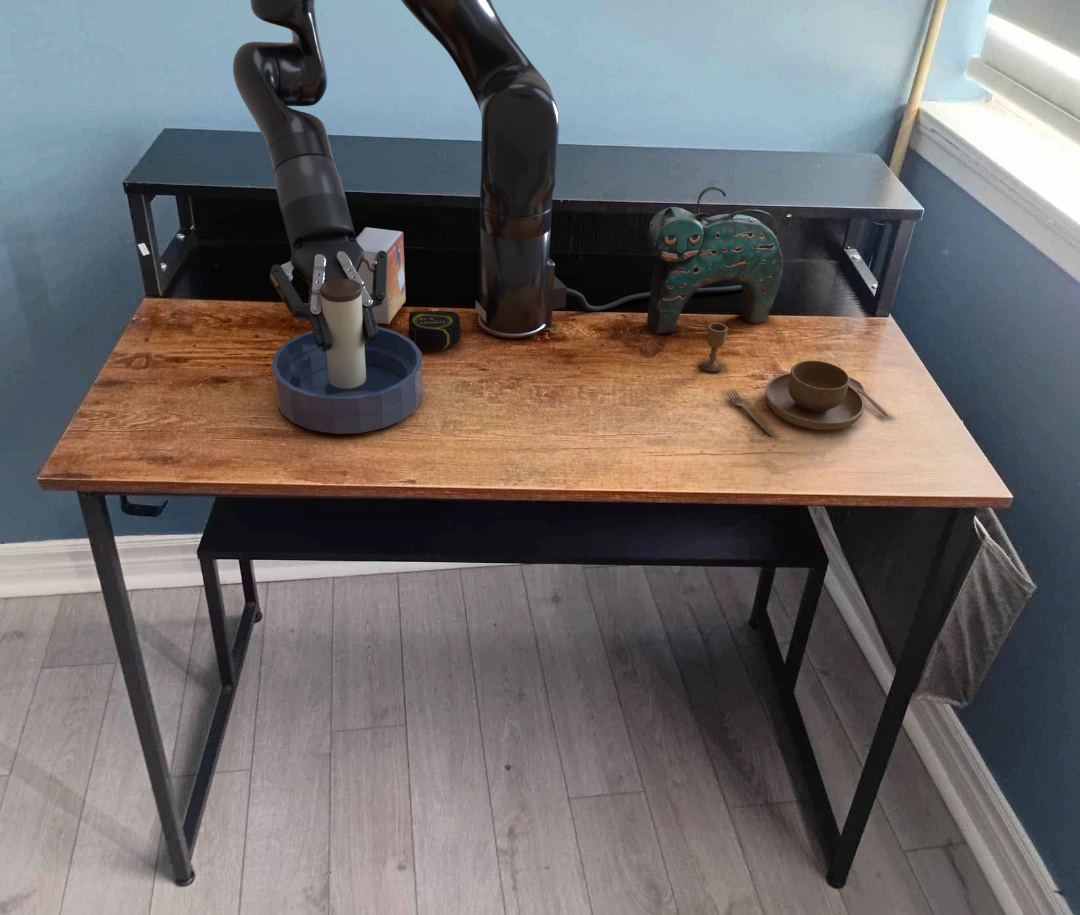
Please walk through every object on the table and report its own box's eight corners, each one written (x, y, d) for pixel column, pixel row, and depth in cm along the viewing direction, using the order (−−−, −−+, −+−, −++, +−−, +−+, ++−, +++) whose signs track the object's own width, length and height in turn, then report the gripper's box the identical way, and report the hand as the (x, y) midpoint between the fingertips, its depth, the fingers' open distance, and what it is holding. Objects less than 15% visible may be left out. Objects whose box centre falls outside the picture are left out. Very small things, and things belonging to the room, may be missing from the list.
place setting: (776, 447, 113) (786, 404, 110) (692, 364, 128) (699, 324, 125) (899, 421, 119) (911, 380, 116) (805, 344, 134) (814, 306, 131)
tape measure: (459, 331, 133) (459, 306, 131) (460, 356, 127) (460, 330, 125) (409, 331, 132) (408, 306, 130) (407, 356, 127) (406, 330, 125)
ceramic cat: (646, 340, 133) (664, 197, 122) (630, 318, 138) (645, 179, 127) (778, 326, 138) (806, 188, 127) (757, 305, 143) (783, 171, 132)
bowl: (397, 353, 127) (395, 315, 124) (442, 421, 115) (442, 381, 112) (263, 377, 121) (258, 338, 118) (296, 452, 109) (291, 410, 105)
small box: (388, 326, 133) (385, 253, 127) (349, 320, 134) (344, 248, 128) (407, 300, 140) (404, 230, 134) (369, 295, 140) (365, 225, 134)
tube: (360, 366, 119) (354, 275, 112) (371, 384, 115) (366, 292, 108) (323, 373, 117) (315, 281, 110) (333, 391, 114) (326, 298, 107)
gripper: (253, 197, 107) (290, 346, 105) (379, 184, 112) (416, 325, 111) (249, 225, 114) (283, 365, 112) (368, 211, 119) (402, 344, 118)
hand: (349, 344), depth 112 cm, fingers closed on tube, 4 cm apart
